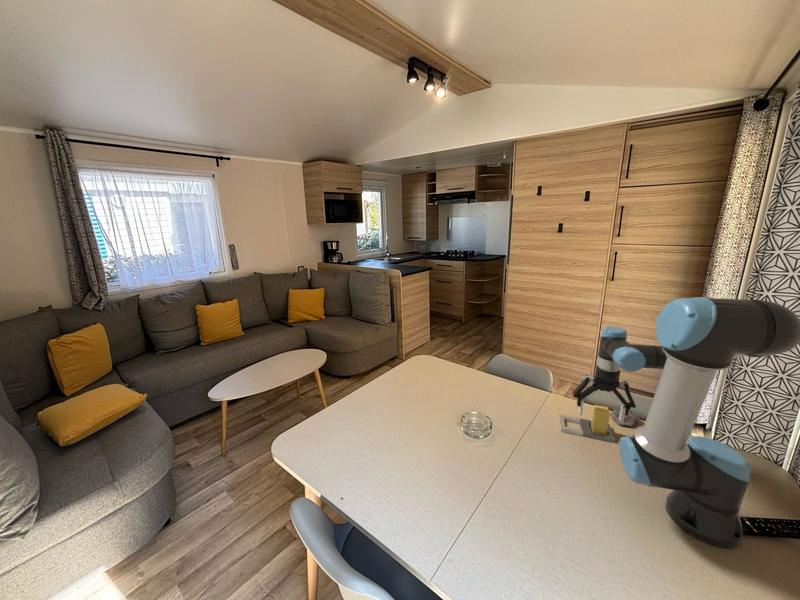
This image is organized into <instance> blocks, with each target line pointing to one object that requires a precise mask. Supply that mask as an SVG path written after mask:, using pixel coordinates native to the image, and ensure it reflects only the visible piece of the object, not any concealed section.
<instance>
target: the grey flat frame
mask: <svg viewBox="0 0 800 600" xmlns="http://www.w3.org/2000/svg"><path fill="white" fill-rule="evenodd" d="M558 415H559V416H558V419H559V426H560V432H563V433H566V434H567V433H568V434H573V435H577V436H582V437H587V438H592V439H595V440H601V441H605V442H610V443H616V438H615V436H614V432H613V429H612V427H611V425H610V423H608V429H607V435H604V434H599V433H594V432H592V430H591V422H592V419H591V420H590V419H585V418H580V417H574V416H569V415H564V414H558ZM564 420H565V421H564ZM569 421H570V422H569ZM565 422H569V423H573V424H579V426H580V428H575V427H568V426H566V424H565Z"/></svg>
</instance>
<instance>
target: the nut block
mask: <svg viewBox="0 0 800 600" xmlns="http://www.w3.org/2000/svg"><path fill="white" fill-rule="evenodd" d="M591 416H592V417H591V421H592V422H591V426H590V429H591V432H594V433H599V434H604V435H608V434H607V429H608V424H610V423H609V422H610V417H611V412H610V410H609V407H608V406H601V405H596V404H593V409H592V415H591Z"/></svg>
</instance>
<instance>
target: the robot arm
mask: <svg viewBox="0 0 800 600" xmlns="http://www.w3.org/2000/svg"><path fill="white" fill-rule="evenodd" d="M655 329H656V330H655V335H656V336H655V337H656V339H657V341H658V343H659V345H650V344H636V343H630V342H628V341H627V339H628V331H627V330H626V329H624V328H622V327H618V326H604V327H603V328H602V330H601V335H600V337H599V338H600V341H599V347H598V354H597V360H596V361H597V362H596V366H595V367H596V368H595V374H594V376H593V377H592V376H589V375H587V374H586V375H584V379H583V380H582V381H581V383H579V385H578V386H577V387H576V389H574V391H573V392H572V395H573V398H576V399H577V400H576V406H577V407H579V408H578V415H579V416H583V410H584V403H585V400H584V399H585V398H587V397H588V396H590V395H591V394H593V393H595V392H598V390H599V391H601V392H608V393H610V392H613V394H615V396H616V398H618V399H619V401H620V402H621V403H622V404H621V405H620V408H621V411H620V416H619V420H620V423H622V424H623V421H624V416H625V415H628V412H629V410H631V408H633V409H636V408H637V406H636V405H637V404H636V403H635V401H634V398H633V396H632V394H631V392H630V390H629V389H630V384H629V383H628V381H627V380H623V381H620V376H621V370H624V371H626V372H629V373H635V372H637V371H640V370H642V369H656V370H662V372H661V375H660V378H659V381H658V384H657V386H656V389H655V393H654V395H653V398H652V401H651V404H650V407H649V410H648V413H647V416H646V419H645V422H644V424H643V425H639V426H638V427H636V428H634V432H633V435H632V436H628V435H627V436H622V437H621V438H620V440H619V445H618V446H619V453H620V454H619V455H620V460H621V463H622V467H623V469H624V471H625V473H626V475H627V476H628V478H629V479H630V480H631V482H633V483H635V484H638V485H642V486H647V487H650V488H651V487H652V488H659V489H665V490H672V491H670V493H669V494H667V497H666V501H665V504H664V506H665V510H666V513H667V515H668V516H669V517H670V518H671V520H672V521H673V522H674V523H675V524H676V525H677V526H679V528H681V529H682V530H683V531H684V532H686V533H688V535H690V536H692V537H694V538H695V539H697V540H699V541H701V542H703V543H706V544H708V545H711V546H713V547H716V548H722V549H735V548H738V547H739V546H740V545H741V544H742V540H743V536H744V531H743V525H742V520H741V517H740V509H741V506H742V503H743V499H744V496H745V494H746V490H747V487H748V485H749V482H750V480H751V478H750V477H751V471H752V467H751V464H750V463H749V461H748V459H746V457H745V456H743V455H742V454H741V453H740V452H738V451H737V450H736V449H734V448H733V447H730V446H728V445H726V444H725V443H722V442H720V441H718V440H715V439H713V438H710V437H707V436H700V435H694V436H691V437H690V435H691V433H692V430H693V428H694V426H695V423H696V421H697V418H698V416H699V414H700V412H701V410H702V408H703V405H704V402H705V400H706V398H707V395H708V393H709V390H710V389H711V386H712V383H713V382H714V379H715V376H716V375H717V371H724V370H727V369H729V367H730V366H731V364H732V363H733V361H734V359H735V358H739V357H744V356H745V357H750V358H764V357H765V358H766V357H769V356H775V355H780V354H785V353H787V352H790V351H791V350H793V349H794V348H796V347H797V345H799V344H800V317H798V315H797V314H796V312H794V311H793V310H791V309H789V308H788V307H787V306H784V305H782V304H780V303H776V302H775V301H770V300H765V299H745V298H744V299H742V298H715V297H714V298H713V297H711V298H710V297H704V296H701V297H700V296H699V297H683V298H680V297H679V298H676V299H674V300H672V301H669V302H668V303H667V304H666V305H665V306H664V307H662V309H661V310H660V313H659V314H658V317H657V319H656V322H655ZM592 382H593V383H592ZM590 383H592V384H591V385H590V386H589V387H587V386H588V384H590ZM586 387H587V388H586ZM618 387H621V388H622V389H623V390H624V392H625V394H626V396H627V399H628V401H629V402H628V401H627V400H626V398H624V396H623V394H621V393H620V392H619V390H618V389H617V388H618ZM687 442H688V443H687Z"/></svg>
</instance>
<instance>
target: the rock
mask: <svg viewBox="0 0 800 600" xmlns="http://www.w3.org/2000/svg"><path fill="white" fill-rule="evenodd" d="M620 411H621V407H614V408H613V409H612V411H611V412H610V417H611V419H612V420H613V421H614V422H615V423H616V424H618V425H619V426H626V427H627V426H628V427H633V425H634V424H635V423H636V422H637V421H638V422H639V421H640V415H638V414H637V413H635V412H633V411H632V410H631V409H629V412H628V415H625V416H624V421H623V424H622V423H620V420H619V416H620ZM638 422H637V423H638ZM637 423H636V424H637ZM636 424H635V425H636ZM635 425H634V426H635Z"/></svg>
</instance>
